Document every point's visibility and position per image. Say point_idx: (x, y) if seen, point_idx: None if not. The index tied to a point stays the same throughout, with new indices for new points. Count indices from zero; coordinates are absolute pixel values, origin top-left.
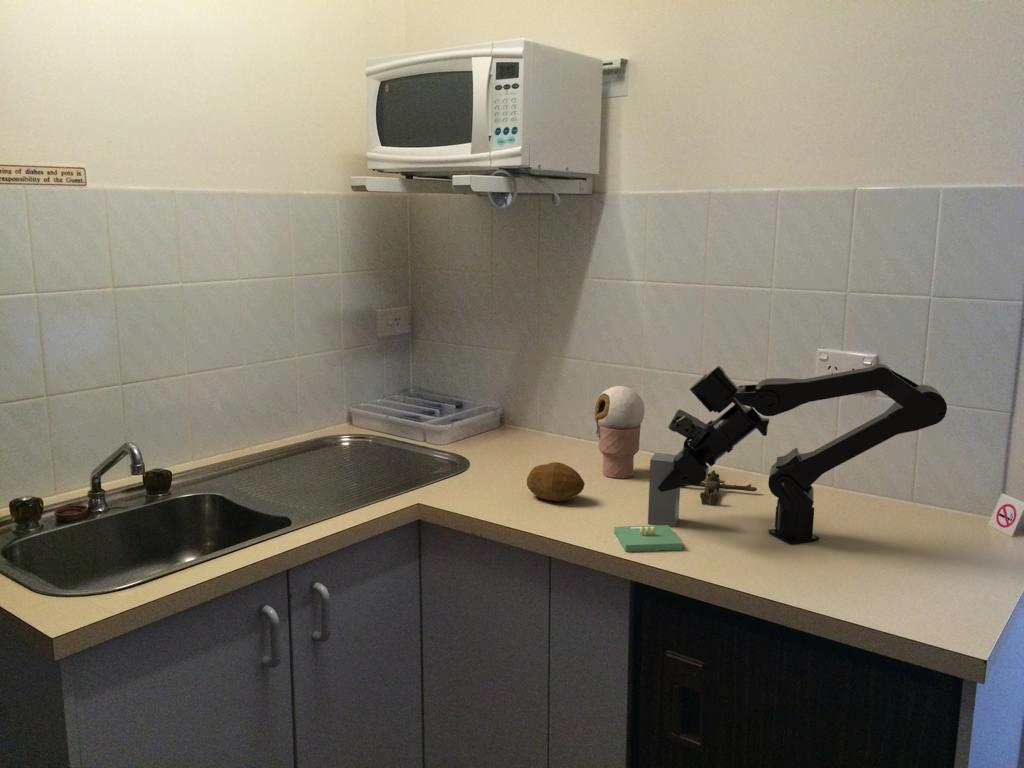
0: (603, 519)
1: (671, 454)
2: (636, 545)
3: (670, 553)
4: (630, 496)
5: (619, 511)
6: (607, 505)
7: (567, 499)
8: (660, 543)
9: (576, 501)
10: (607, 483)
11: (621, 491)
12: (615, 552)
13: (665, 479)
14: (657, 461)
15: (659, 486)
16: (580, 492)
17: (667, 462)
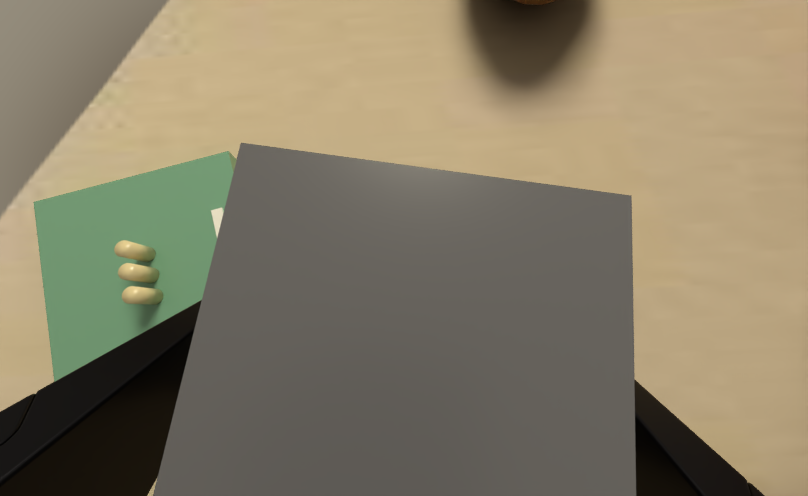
0: (370, 120)
1: (631, 464)
2: (39, 240)
3: (50, 369)
4: (644, 192)
5: (466, 165)
6: (518, 122)
7: None
8: (55, 330)
9: (528, 27)
10: (758, 105)
11: (689, 158)
12: (54, 179)
13: (95, 363)
14: (224, 249)
15: (195, 307)
16: (524, 3)
17: (184, 408)
